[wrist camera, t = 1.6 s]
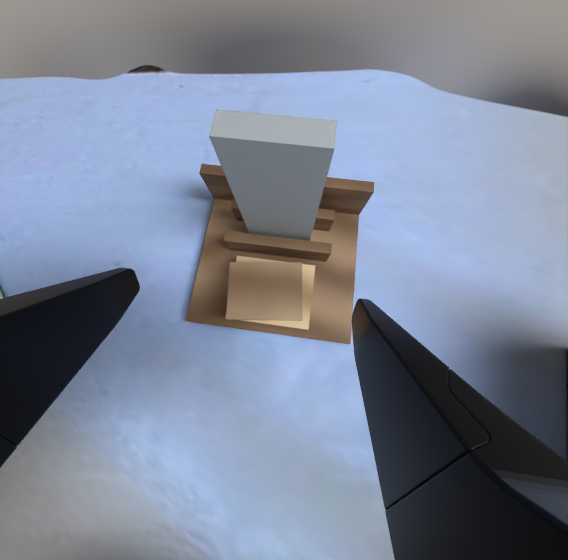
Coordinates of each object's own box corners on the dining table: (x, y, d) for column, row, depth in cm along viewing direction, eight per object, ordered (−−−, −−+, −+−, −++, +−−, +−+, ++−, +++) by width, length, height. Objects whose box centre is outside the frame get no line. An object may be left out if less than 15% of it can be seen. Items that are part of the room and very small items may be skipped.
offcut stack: (306, 330, 20) (310, 330, 17) (228, 319, 21) (218, 318, 18) (313, 269, 22) (317, 260, 19) (239, 260, 22) (232, 250, 19)
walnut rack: (347, 343, 21) (365, 348, 16) (190, 321, 22) (162, 319, 17) (356, 211, 24) (374, 182, 19) (218, 196, 25) (201, 163, 20)
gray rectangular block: (308, 246, 22) (334, 148, 10) (251, 239, 22) (209, 136, 10) (309, 232, 22) (337, 120, 10) (254, 226, 23) (215, 109, 10)
